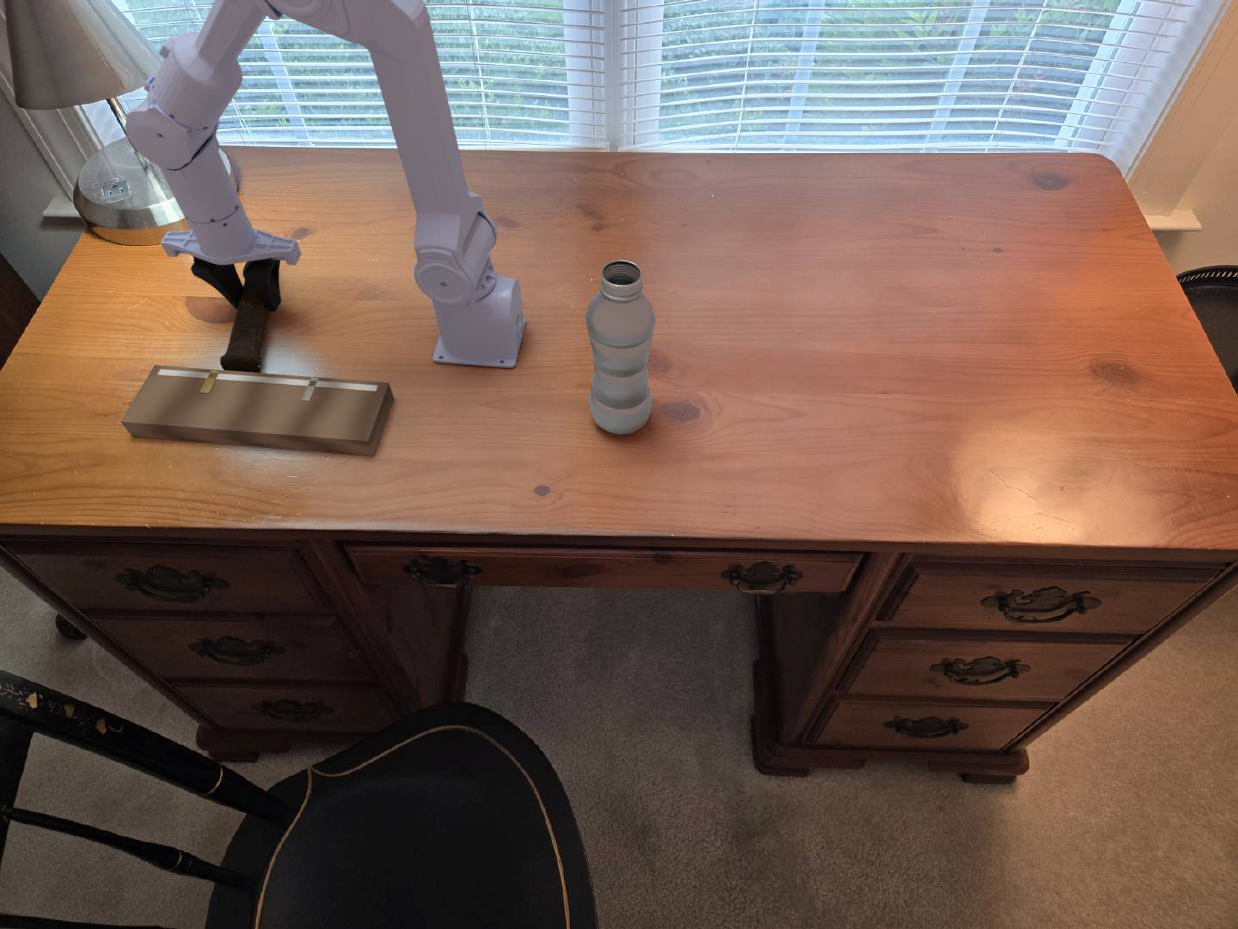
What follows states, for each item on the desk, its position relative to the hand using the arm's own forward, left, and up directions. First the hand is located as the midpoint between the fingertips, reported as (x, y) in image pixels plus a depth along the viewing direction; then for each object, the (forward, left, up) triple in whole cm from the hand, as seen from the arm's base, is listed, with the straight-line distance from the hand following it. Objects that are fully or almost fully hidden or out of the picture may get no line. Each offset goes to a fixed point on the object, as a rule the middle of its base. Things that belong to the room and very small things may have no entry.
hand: (258, 304), depth 94 cm
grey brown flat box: (-6, +16, -1) cm, 17 cm away
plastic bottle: (-44, +12, -2) cm, 46 cm away
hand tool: (0, +2, -2) cm, 2 cm away
